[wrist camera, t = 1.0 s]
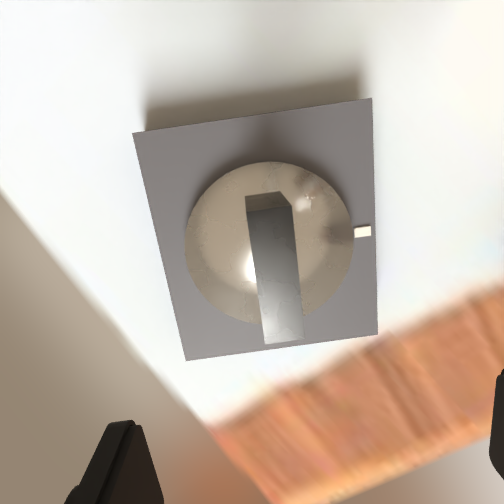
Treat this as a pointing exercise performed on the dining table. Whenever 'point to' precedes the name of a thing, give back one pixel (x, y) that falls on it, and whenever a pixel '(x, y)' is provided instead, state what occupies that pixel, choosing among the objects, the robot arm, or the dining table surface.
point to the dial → (269, 246)
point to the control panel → (247, 152)
